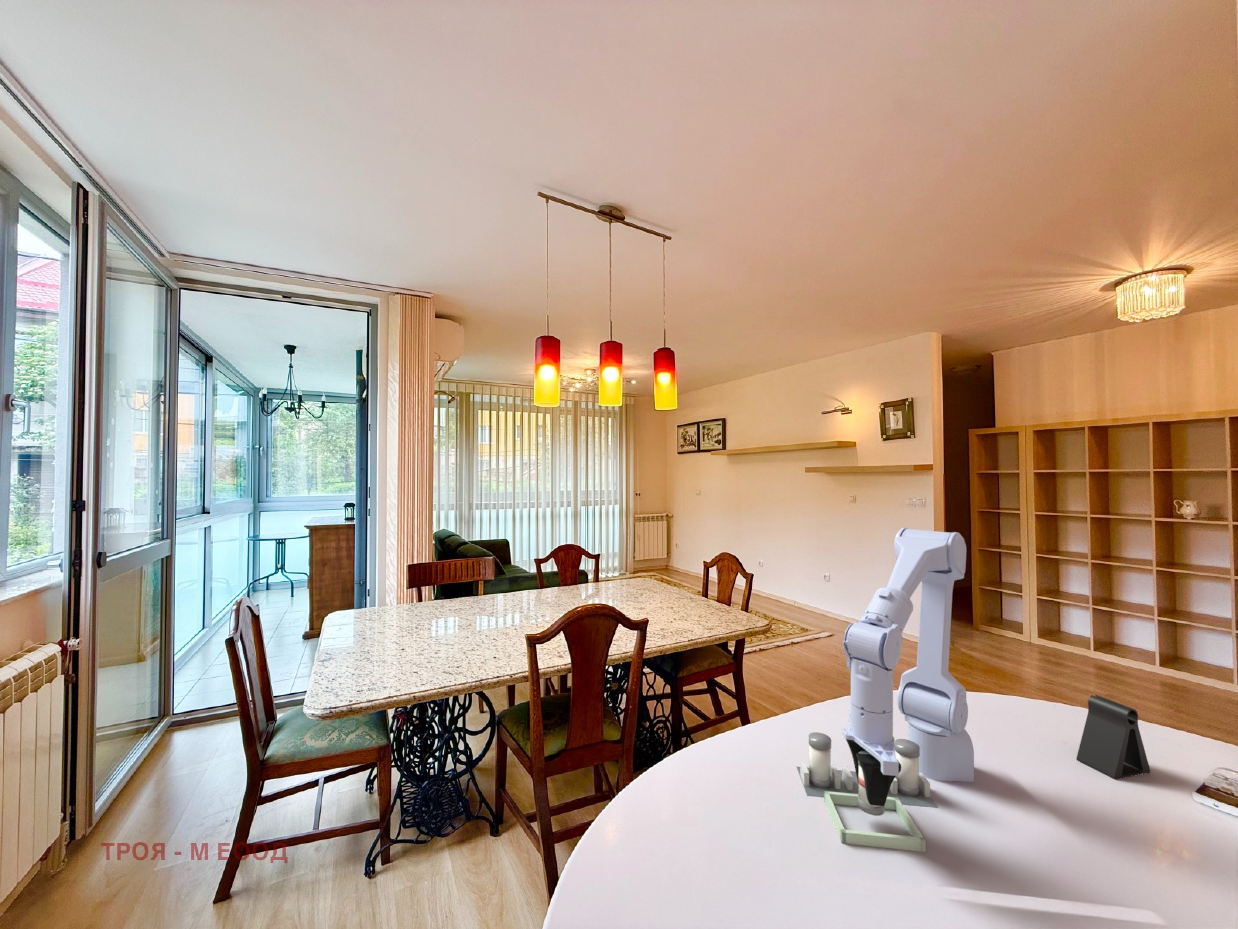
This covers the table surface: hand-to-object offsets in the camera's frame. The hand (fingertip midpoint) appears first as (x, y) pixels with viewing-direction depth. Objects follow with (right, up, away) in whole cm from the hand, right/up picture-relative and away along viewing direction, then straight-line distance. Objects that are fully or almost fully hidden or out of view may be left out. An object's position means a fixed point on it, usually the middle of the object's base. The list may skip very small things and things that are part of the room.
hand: (871, 795), depth 75 cm
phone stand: (+54, -7, +17) cm, 57 cm away
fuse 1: (-4, -5, +10) cm, 12 cm away
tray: (0, -6, 0) cm, 6 cm away
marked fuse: (0, -2, 0) cm, 2 cm away
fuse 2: (+10, -5, +8) cm, 14 cm away
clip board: (+3, -6, +9) cm, 11 cm away
